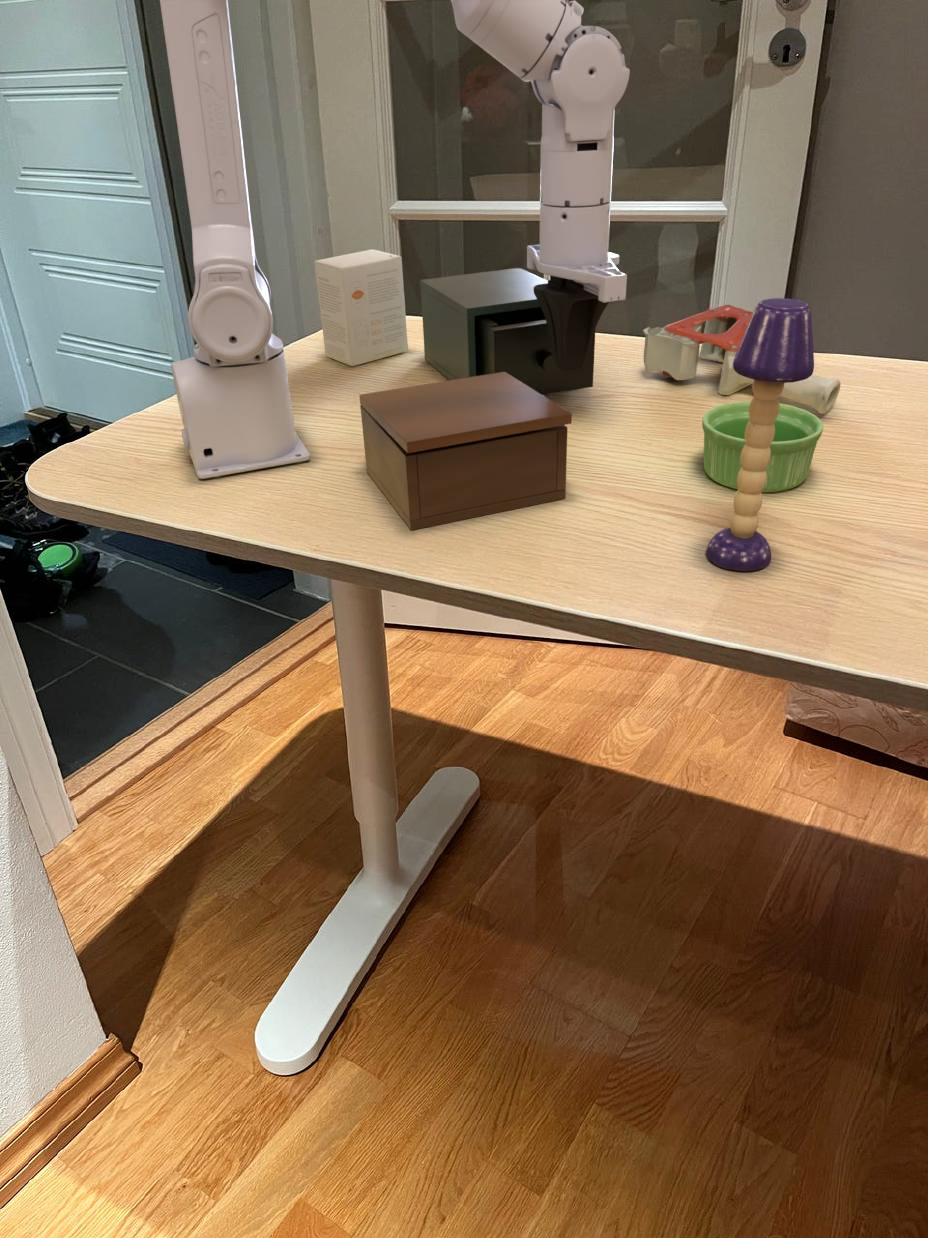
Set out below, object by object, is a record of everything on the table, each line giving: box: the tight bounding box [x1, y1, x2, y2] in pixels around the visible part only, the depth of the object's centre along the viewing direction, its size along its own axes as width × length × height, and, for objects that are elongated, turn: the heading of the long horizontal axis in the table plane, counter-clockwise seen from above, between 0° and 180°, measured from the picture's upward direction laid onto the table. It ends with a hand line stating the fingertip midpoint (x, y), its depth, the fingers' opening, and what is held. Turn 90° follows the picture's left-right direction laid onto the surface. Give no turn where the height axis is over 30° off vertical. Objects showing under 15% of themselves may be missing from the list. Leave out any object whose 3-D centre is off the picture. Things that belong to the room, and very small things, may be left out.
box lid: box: [358, 372, 573, 453], centre depth 69 cm, size 12×13×1 cm
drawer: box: [474, 307, 596, 396], centre depth 90 cm, size 14×10×7 cm
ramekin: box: [701, 400, 824, 493], centre depth 71 cm, size 9×9×4 cm
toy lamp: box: [705, 297, 815, 572], centre depth 57 cm, size 5×5×17 cm
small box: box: [314, 248, 409, 367], centre depth 100 cm, size 8×6×10 cm
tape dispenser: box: [642, 304, 842, 415], centre depth 89 cm, size 18×5×20 cm
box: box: [359, 404, 568, 531], centre depth 71 cm, size 12×13×6 cm
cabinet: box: [419, 267, 548, 381], centre depth 95 cm, size 14×12×9 cm
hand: (570, 367), depth 81 cm, fingers closed
